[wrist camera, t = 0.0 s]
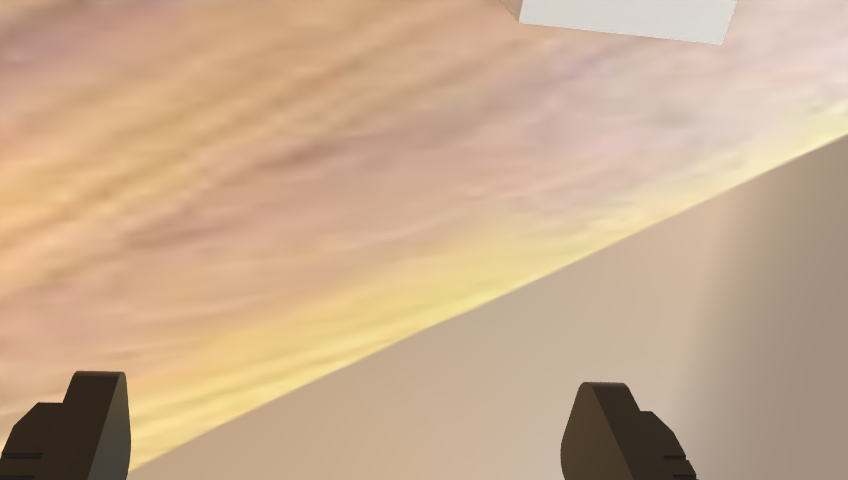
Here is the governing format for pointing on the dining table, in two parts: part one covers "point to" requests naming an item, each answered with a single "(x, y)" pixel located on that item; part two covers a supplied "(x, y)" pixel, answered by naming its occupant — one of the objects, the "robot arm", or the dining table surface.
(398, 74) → the dining table surface
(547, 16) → the white rectangular block
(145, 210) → the dining table surface
